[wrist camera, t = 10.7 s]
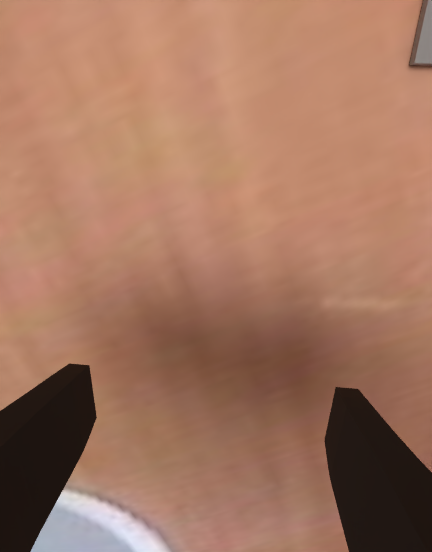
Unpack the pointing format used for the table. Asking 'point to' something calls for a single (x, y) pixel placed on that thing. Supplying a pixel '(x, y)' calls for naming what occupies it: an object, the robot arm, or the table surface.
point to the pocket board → (423, 37)
